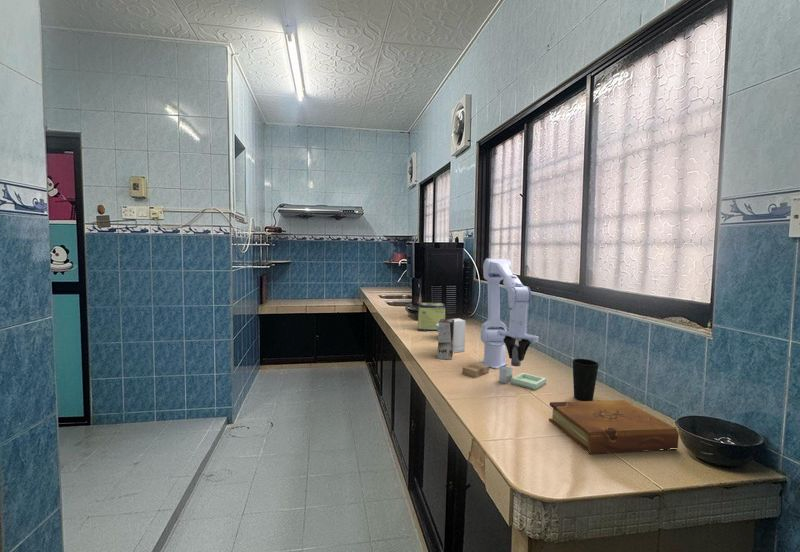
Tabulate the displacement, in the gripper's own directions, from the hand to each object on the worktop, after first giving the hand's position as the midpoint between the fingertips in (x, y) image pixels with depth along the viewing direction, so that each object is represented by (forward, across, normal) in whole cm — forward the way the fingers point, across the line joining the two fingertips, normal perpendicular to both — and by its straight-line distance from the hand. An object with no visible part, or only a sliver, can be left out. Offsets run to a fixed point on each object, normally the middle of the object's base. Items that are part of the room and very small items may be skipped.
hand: (516, 359), depth 136 cm
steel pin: (+2, 0, 0) cm, 2 cm away
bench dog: (+9, -4, +1) cm, 10 cm away
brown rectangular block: (+10, -17, +1) cm, 19 cm away
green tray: (+9, +3, +5) cm, 11 cm away
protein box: (+10, -79, +52) cm, 95 cm away
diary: (+10, +34, -17) cm, 40 cm away
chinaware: (+10, -57, +40) cm, 71 cm away
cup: (+10, +21, +5) cm, 24 cm away
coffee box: (+10, -39, +11) cm, 42 cm away
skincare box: (+10, -42, +22) cm, 49 cm away
